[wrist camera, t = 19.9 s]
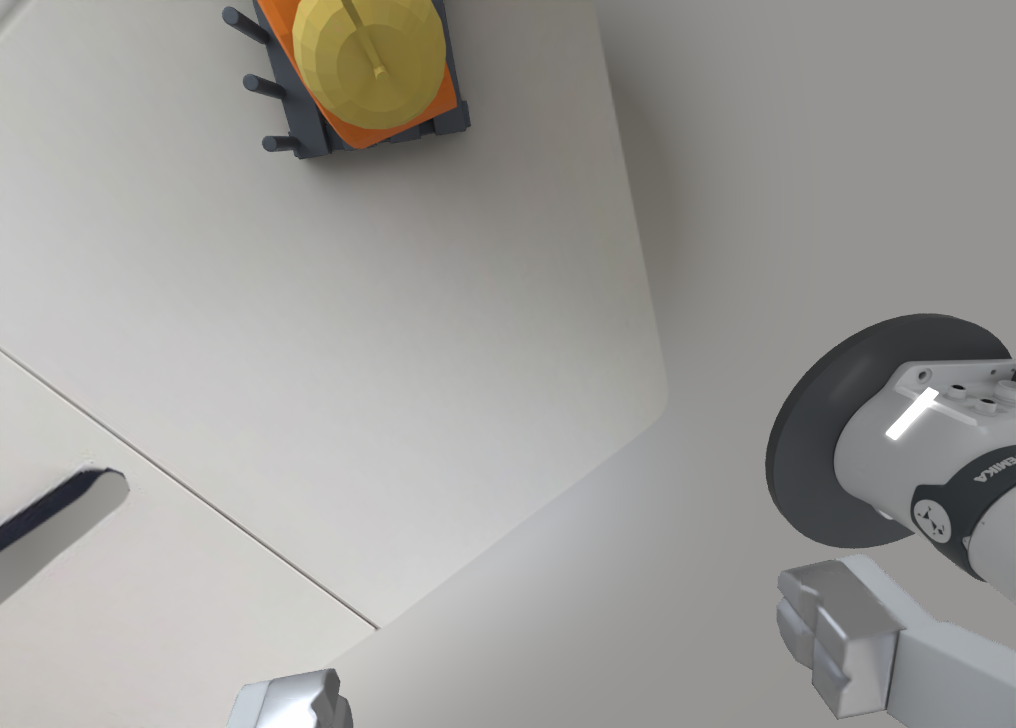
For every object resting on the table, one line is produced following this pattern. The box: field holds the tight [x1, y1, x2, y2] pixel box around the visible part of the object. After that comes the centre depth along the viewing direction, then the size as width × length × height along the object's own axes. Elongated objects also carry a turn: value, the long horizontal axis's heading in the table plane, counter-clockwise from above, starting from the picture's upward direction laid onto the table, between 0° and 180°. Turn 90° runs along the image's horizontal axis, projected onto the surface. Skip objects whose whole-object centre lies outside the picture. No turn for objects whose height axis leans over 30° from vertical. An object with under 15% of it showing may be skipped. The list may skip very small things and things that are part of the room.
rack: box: [222, 0, 471, 159], centre depth 32 cm, size 12×14×9 cm
